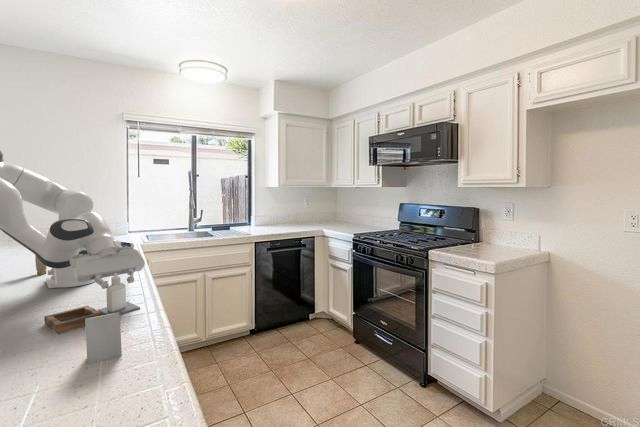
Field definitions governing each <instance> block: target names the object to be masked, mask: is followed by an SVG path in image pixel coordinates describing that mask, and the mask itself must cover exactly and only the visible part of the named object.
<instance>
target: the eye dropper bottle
mask: <svg viewBox="0 0 640 427" xmlns="http://www.w3.org/2000/svg"><path fill="white" fill-rule="evenodd" d="M110 279H111V284H110V285H109V287H108V288H106V307H107V311H109V312H115V311H118V310H121V309H123V308H124V307H126V302H127V294H126V293H127V292H126V291H127V288H126V287H127V286H126V284H125V283H123V282H122V283H121V276H119V275H117V273H114V276H111V278H110Z"/></svg>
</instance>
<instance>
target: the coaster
mask: <svg viewBox="0 0 640 427" xmlns="http://www.w3.org/2000/svg"><path fill="white" fill-rule="evenodd" d="M140 309H141V307H140V306H139V305H136V304H134V303H132V302H130V301H126V307H124V308H123V309H121V310H118V311H115V312H109V311H107V306H106V307H103V308H102V307H101V308H98V309H97V311H99V312H101V313H102V315H108V314H113V313H119V316H120V315H124V314H127V313H131V312H134V311H137V310H140Z"/></svg>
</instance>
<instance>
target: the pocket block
mask: <svg viewBox="0 0 640 427" xmlns="http://www.w3.org/2000/svg"><path fill="white" fill-rule="evenodd" d="M102 315H103V314H102V313H101V312H99V311H98V309H95V308H94V307H91V306H90V305H83V306H80V307H77V308H73V309H69V310H64V311H61V312H60V311H59V312H56V313H52V314H49V315H45V316H44V317H43V318H44V325H45V326H46V327H47V328H48V329H50V330H51V331H52V332H54V333H56V335H60V334H64V333H68V332H71V331H74V330H76V329H81V328H83V327H84V328H85V319H86V318H92V317H97V316H102Z"/></svg>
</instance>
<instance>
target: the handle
mask: <svg viewBox="0 0 640 427" xmlns="http://www.w3.org/2000/svg"><path fill="white" fill-rule="evenodd" d="M34 255H35V254H34ZM34 258H35V259H34V260H35V261H34V263H35V268H36V274H37V276H39V275H40V276H41V275H45V274H47V267H48V266H46V265H44V264H43V263H42V262H41V261H40V260H39V258H38V257H37V256H36V255H35V257H34Z"/></svg>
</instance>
